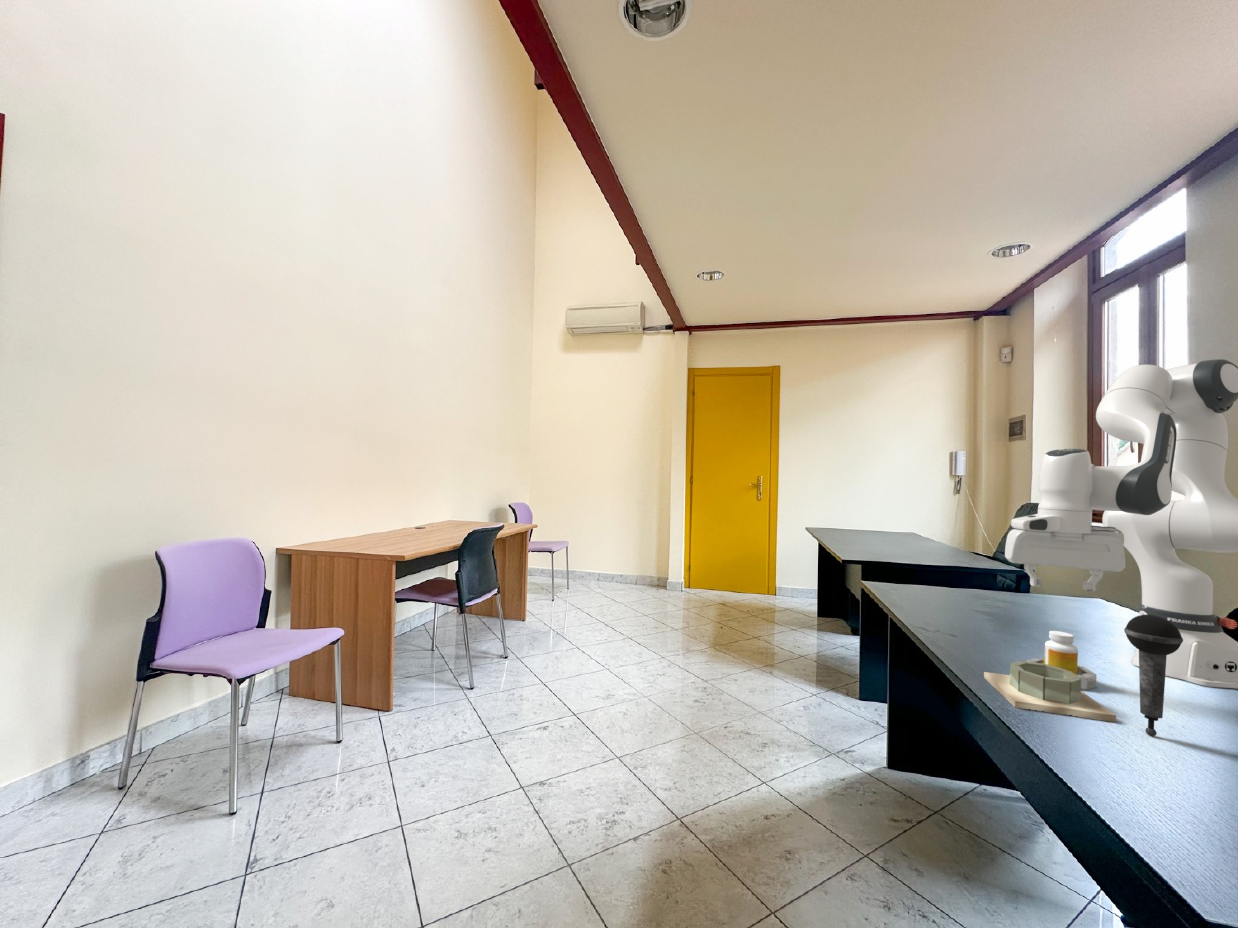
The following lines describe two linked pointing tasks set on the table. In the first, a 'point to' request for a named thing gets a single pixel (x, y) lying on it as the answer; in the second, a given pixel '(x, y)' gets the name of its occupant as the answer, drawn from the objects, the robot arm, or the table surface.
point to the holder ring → (1086, 675)
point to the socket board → (1047, 691)
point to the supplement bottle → (1061, 651)
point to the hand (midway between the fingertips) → (1062, 588)
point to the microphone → (1152, 661)
